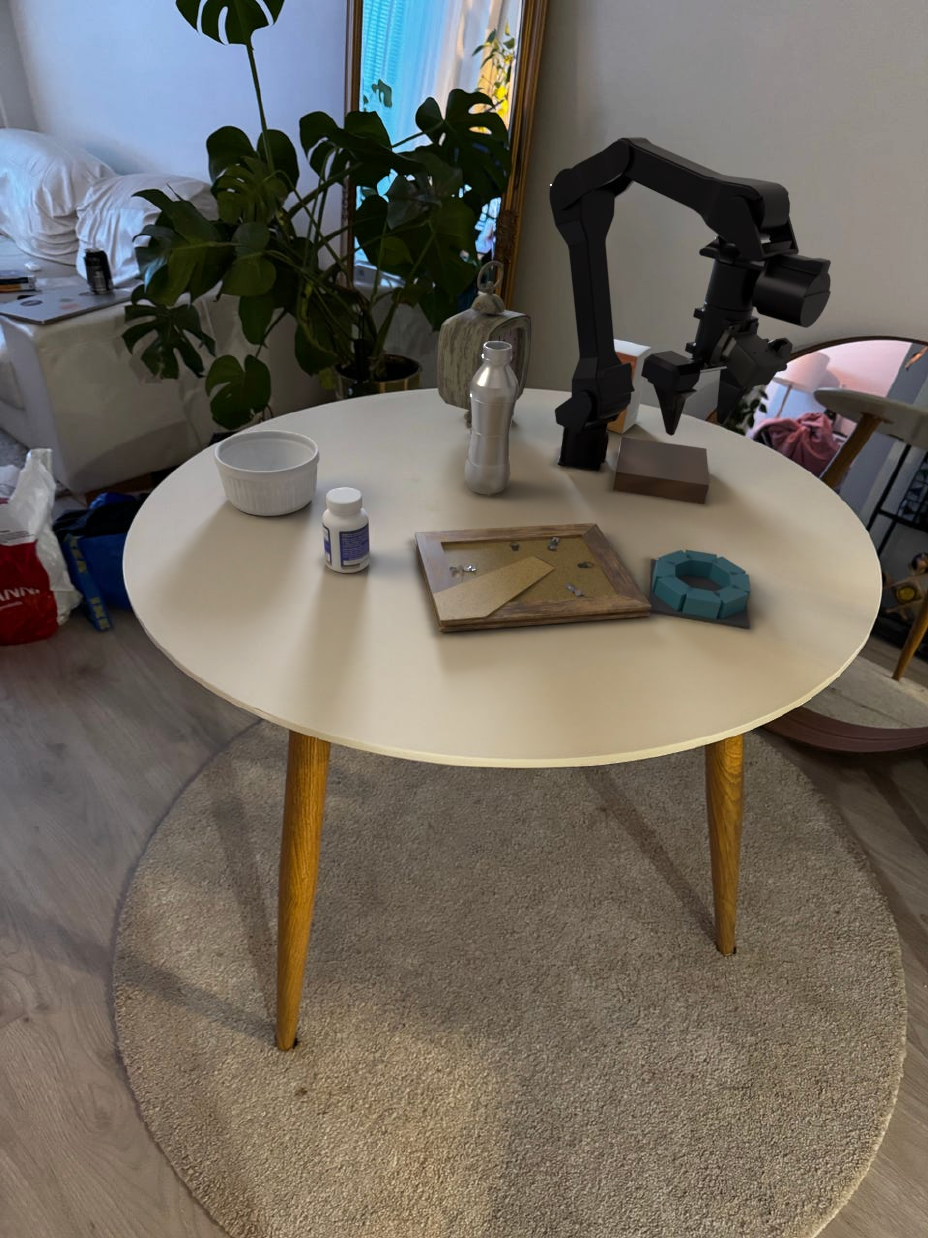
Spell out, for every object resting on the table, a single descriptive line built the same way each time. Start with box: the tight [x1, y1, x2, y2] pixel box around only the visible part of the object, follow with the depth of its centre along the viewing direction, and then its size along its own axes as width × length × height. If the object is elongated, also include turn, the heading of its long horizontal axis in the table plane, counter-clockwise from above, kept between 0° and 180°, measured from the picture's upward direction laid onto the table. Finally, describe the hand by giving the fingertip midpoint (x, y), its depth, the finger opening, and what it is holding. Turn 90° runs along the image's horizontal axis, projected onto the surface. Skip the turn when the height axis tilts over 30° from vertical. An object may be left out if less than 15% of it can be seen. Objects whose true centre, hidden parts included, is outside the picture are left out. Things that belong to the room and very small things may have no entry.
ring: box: [652, 549, 752, 619], centre depth 88 cm, size 11×11×2 cm
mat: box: [648, 558, 750, 630], centre depth 88 cm, size 11×11×1 cm
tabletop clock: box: [436, 260, 532, 435], centre depth 119 cm, size 14×9×25 cm, turn 147°
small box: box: [607, 338, 652, 435], centre depth 125 cm, size 8×6×13 cm
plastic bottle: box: [463, 341, 519, 495], centre depth 101 cm, size 6×7×20 cm
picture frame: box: [414, 522, 651, 633], centre depth 89 cm, size 19×2×24 cm
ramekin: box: [213, 429, 320, 517], centre depth 99 cm, size 13×13×7 cm
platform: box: [612, 436, 710, 505], centre depth 112 cm, size 13×13×3 cm
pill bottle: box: [321, 486, 371, 574], centre depth 87 cm, size 5×5×9 cm
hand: (695, 428), depth 99 cm, fingers open, 9 cm apart
